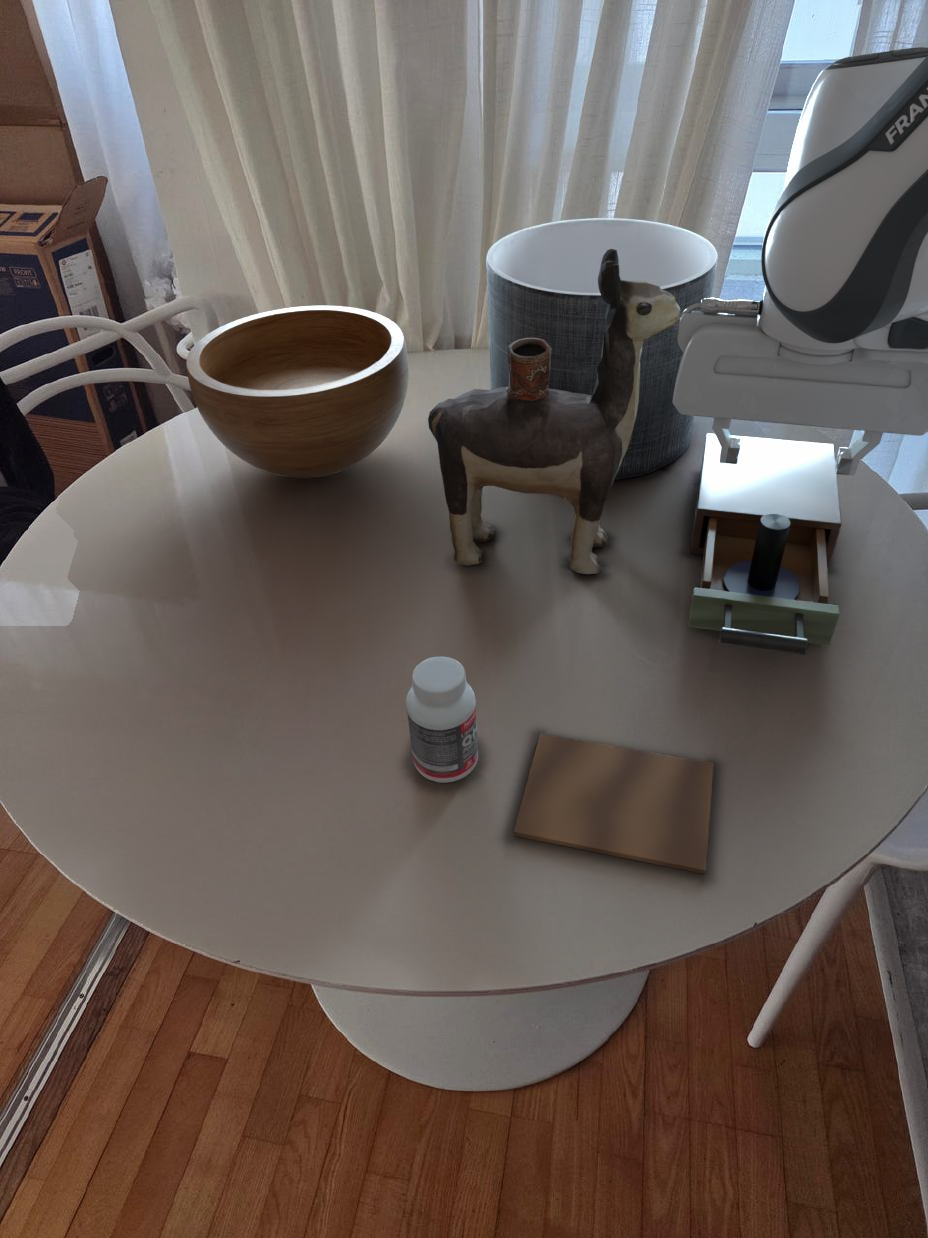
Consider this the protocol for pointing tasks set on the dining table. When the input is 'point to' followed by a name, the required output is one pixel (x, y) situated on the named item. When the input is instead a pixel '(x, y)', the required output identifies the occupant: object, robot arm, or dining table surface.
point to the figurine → (551, 425)
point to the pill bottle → (442, 720)
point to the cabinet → (769, 486)
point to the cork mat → (618, 802)
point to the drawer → (761, 615)
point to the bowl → (301, 387)
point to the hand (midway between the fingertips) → (785, 465)
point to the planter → (598, 314)
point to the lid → (765, 564)
